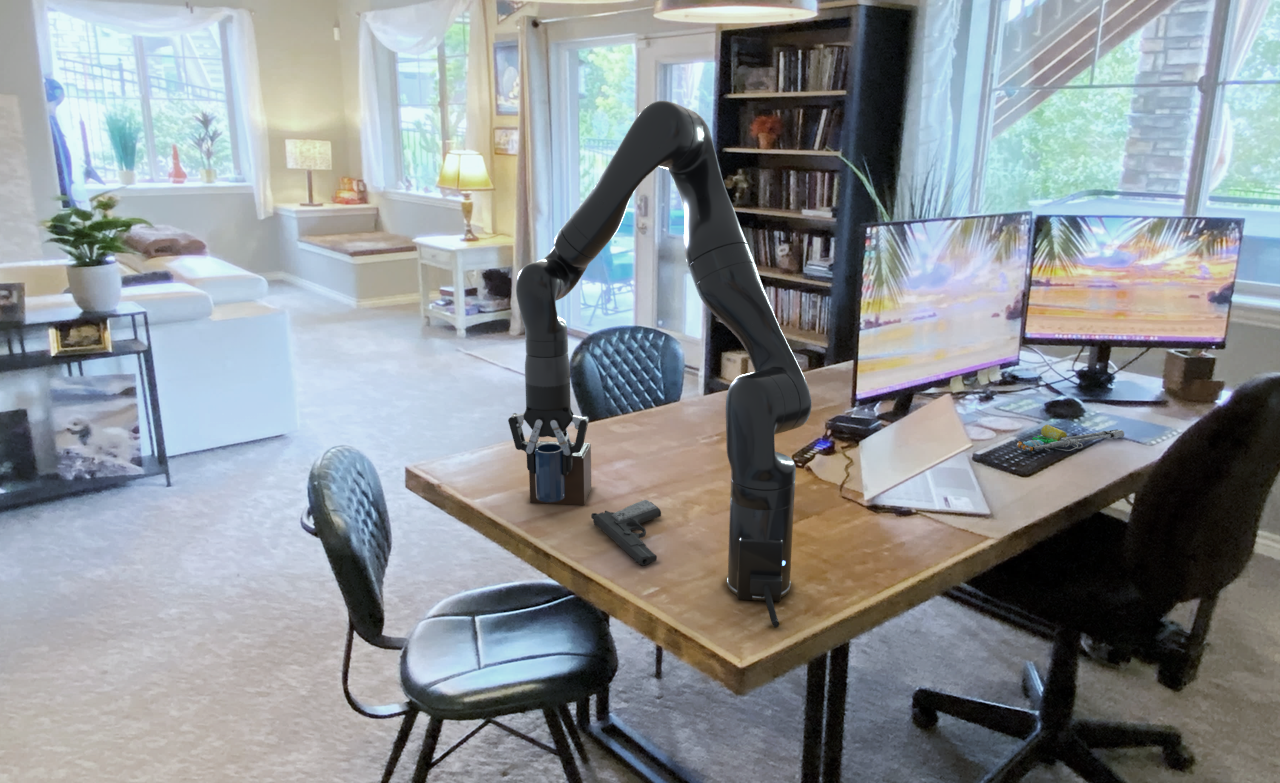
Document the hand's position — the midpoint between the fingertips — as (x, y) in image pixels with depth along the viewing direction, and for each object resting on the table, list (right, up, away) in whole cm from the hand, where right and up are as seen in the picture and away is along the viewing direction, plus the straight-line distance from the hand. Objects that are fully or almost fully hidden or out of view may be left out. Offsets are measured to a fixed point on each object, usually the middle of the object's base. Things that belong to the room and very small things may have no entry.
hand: (550, 472), depth 160 cm
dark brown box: (+1, -5, +11) cm, 12 cm away
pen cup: (0, -4, +1) cm, 4 cm away
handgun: (+16, -10, -6) cm, 20 cm away
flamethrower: (+108, +3, +40) cm, 115 cm away
